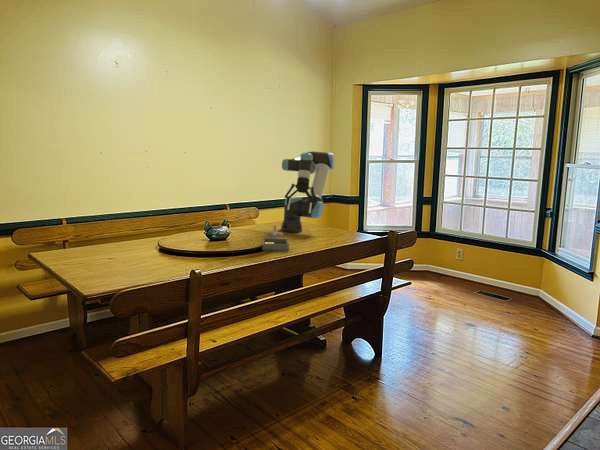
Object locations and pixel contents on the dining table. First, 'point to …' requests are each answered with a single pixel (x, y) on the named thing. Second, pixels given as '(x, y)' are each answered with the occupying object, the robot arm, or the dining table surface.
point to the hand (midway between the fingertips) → (298, 211)
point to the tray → (276, 244)
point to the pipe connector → (274, 232)
